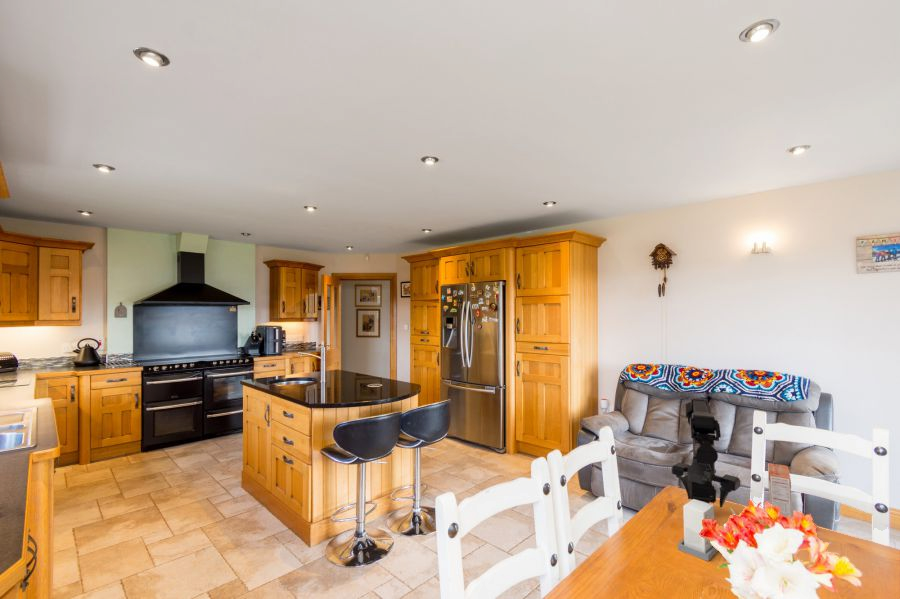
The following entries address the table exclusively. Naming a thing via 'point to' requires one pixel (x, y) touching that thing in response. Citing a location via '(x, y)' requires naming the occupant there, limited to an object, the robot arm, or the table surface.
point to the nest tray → (696, 551)
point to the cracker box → (780, 488)
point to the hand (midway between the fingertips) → (705, 502)
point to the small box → (696, 524)
